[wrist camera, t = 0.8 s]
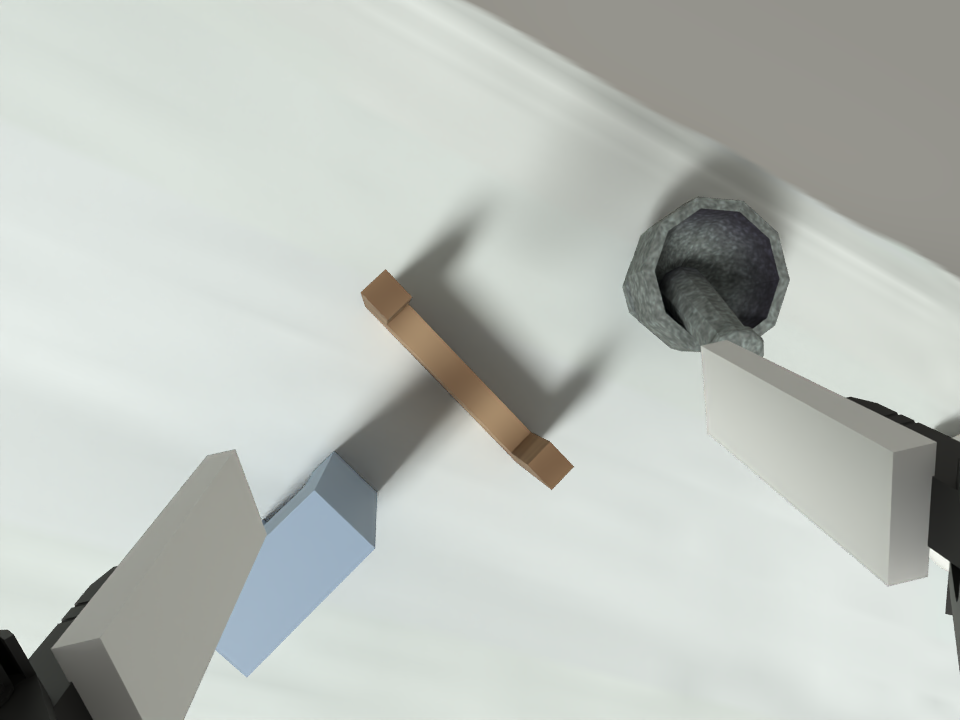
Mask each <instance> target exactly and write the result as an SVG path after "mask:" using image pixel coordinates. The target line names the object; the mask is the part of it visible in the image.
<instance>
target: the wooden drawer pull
mask: <svg viewBox="0 0 960 720" xmlns="http://www.w3.org/2000/svg"><path fill="white" fill-rule="evenodd" d="M361 295H362V298H363V301H364V304H365V307H366V308H367V309H368V310H369V311H370V312H371V313H372V314H373V315H374V316H375V317H376V318H377V319H378V320H379V321H380V322H381V323H382V324H383V325H384V326H385V327H386V328H387V329H388V331H389V332H390V333H391V334H392V335H393V336H394V337H395V338H396V339H397V340H398V341H399V342H400V343H401V344H402V345H403V346H404V347H405V348H406V349H407V350H408V351H409V352H410V353H411V354H412V355H413V356H414V357H415V358H416V359H417V360H418V361H419V362H420V363H421V365H422V366H423V367H424V368H425V369H426V370H427V371H428V372H429V373H430V374H431V375H432V376H433V377H434V378H435V379H436V380H437V381H438V382H439V383H440V384H441V385H442V386H443V387H444V388H445V389H446V390H447V391H448V392H449V393H450V394H451V395H452V396H453V397H454V399H455V400H456V401H457V402H458V403H459V404H460V405H461V406H462V407H463V408H464V409H465V410H466V411H467V412H468V413H469V414H470V415H471V416H472V417H473V418H474V419H475V420H476V421H477V422H478V423H479V424H480V425H481V426H482V427H483V428H484V429H485V430H486V431H487V433H488V434H489V435H490V436H491V437H492V438H493V439H494V440H495V441H496V442H497V443H498V444H499V445H500V446H501V447H502V448H503V449H504V450H505V451H506V452H507V453H508V454H509V455H510V456H511V457H512V458H513V459H514V460H515V461H516V462H517V463H518V464H519V465H520V466H522V467H523V468H524V469H525V470H527V471H528V472H529V473H531V474H532V475H533V476H534V477H536V478H537V479H538V480H540V481H541V482H542V483H544V484H545V485H546V486H547V487H549V488H550V489H551V490H552V489H553V488H554V487H555V486H556V485H557V484H558V483H559V482H560V481H561V480H562V479H563V478H564V477H565V475H566V474H567V473H568V472H569V471H570V470H571V469H572V468H573V467H574V466H573V465H572V464H571V463H570V462H569V461H568V460H567V459H566V458H565V457H564V456H563V455H562V454H561V453H560V452H559V451H558V449H557V448H556V447H555V446H554V445H553V444H552V443H551V442H550V441H548V440H546V439H544V438H542V437H540V436H538V435H536V434H534V433H532V432H530V431H529V430H528V429H527V428H526V426H525V425H524V424H523V423H522V422H521V421H520V420H519V419H518V418H517V417H516V416H515V415H514V414H513V413H512V412H511V411H510V410H509V409H508V408H507V407H506V406H505V405H504V403H503V402H502V401H501V400H500V399H499V398H498V397H497V396H496V395H495V394H494V393H493V392H492V391H491V390H490V389H489V388H488V387H487V386H486V385H485V384H484V383H483V381H482V380H481V379H480V378H479V377H478V376H477V375H476V374H475V373H474V372H473V371H472V370H471V369H470V368H469V367H468V366H467V365H466V364H465V363H464V362H463V361H462V360H461V358H460V357H459V356H458V355H457V354H456V353H455V352H454V351H453V350H452V349H451V348H450V347H449V346H448V345H447V344H446V343H445V342H444V341H443V340H442V339H441V338H440V337H439V335H438V334H437V333H436V332H435V331H434V330H433V329H432V328H431V327H430V326H429V325H428V324H427V323H426V322H425V321H424V320H423V319H422V318H421V317H420V316H419V315H418V314H417V312H416V311H415V310H414V309H413V308H412V307H411V306H410V305H409V302H410V300H411V298H412V296H411V295H410V294H409V293H408V292H407V291H406V290H405V289H404V288H403V287H402V286H401V285H400V284H399V283H398V282H397V281H396V280H395V278H394V277H393V276H392V275H391V274H390V273H389V272H388V271H387V270H386V269H385V270H384V271H383V272H382V273H381V274H380V275H379V276H378V277H377V278H376V279H375V280H374V281H373V282H371V283H370V284H369V285H368V286H367V287H366V288H365V289H364V290H363V291H362V292H361Z"/></svg>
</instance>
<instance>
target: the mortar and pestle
mask: <svg viewBox="0 0 960 720" xmlns="http://www.w3.org/2000/svg"><path fill="white" fill-rule="evenodd" d="M789 281H790V279H789V275H788V271H787V267H786V263H785V259H784V255H783V251H782V247H781V243H780V239H779V235H778V232H776V231H775V230H774V229H773V228H772V227H771V226H770V225H769V224H768V223H767V222H766V221H764V220H763V219H762V218H761V217H760V216H759V215H758V214H757V213H756V212H755V211H754V210H752V209H751V208H750V207H749V206H748V205H747V204H746V203H745V202H744V201H738V200H727V199H716V198H705V197H697V198H695V199H693V200H691V201H689V202H687V203H685V204H684V205H682V206H681V207H679V208H678V209H677V210H675V211H674V212H672V213H671V214H669V215H668V216H666V217H665V218H663V219H662V220H661V221H659V222H658V223H656V224H655V225H653V226H652V227H650V228H649V229H648V230H647V231H646V232H645V233H644V234H642V235H641V237H640V240H639V243H638V245H637V248H636V251H635V254H634V257H633V260H632V262H631V263H630V266H629V269H628V272H627V275H626V278H625V281H624V284H623V291H624V294H625V298H626V302H627V306H628V309H629V313H630V314H632V315H633V316H634V317H635V318H636V319H638V321H639V322H640V323H641V324H643V325H644V326H645V327H646V328H647V329H649V330H650V331H651V332H652V333H653V334H654V335H656V336H657V337H658V338H659V339H660V340H662V341H663V342H664V343H665V344H666V345H668V346H669V347H670V348H672V349H676V350H679V351H690V352H701V346H702V345H706V344H711V343H715V342H720V341H724V340H728V341H730V342H732V343H734V344H736V345H738V346H740V347H742V348H744V349H746V350H749V351H751V352H753V353H755V354H757V355H759V356H761V357H763V356H764V345H763V339H762V338H761V335H763V334H764V333H765V332H767V331H768V330H769V329H771V328H772V327H773V326H775V324H776V321H777V318H778V315H779V312H780V308H781V305H782V302H783V299H784V296H785V293H786V290H787V287H788V284H789Z"/></svg>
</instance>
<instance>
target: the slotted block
mask: <svg viewBox="0 0 960 720" xmlns="http://www.w3.org/2000/svg"><path fill="white" fill-rule="evenodd" d="M376 508H377V492H376V491H375V490H374V489H373V488H372V487H371V486H370V485H369V484H368V483H367V482H366V481H365V480H364V479H362V478H361V477H360V476H359V475H358V474H357V473H356V472H355V471H354V470H353V469H352V468H351V467H350V466H349V465H348V464H347V463H346V462H345V461H344V460H343V459H342V458H341V457H340V456H339V455H338V454H337V453H336V452H335V451H334V452H333V453H332V454H331V455H330V456H329V457H328V458H326V459H325V460H324V461H323V462H322V463H321V464H320V465H319V466H318V467H317V468H316V469H315V470H314V471H313V473H312V475H311V476H310V478H309V480H308V481H307V483H306V485H305V486H304V487H303V488H302V489H301V490H300V491H299V492H298V493H297V494H296V495H295V496H294V497H293V498H292V499H291V500H290V501H289V502H288V503H287V504H286V505H285V506H284V507H283V508H282V509H280V510H279V511H278V512H277V513H276V514H275V515H274V516H273V517H272V518H271V519H270V520H269V521H268V522H265V521H264V520H262V523H263V525H264V528H265V531H266V533H267V535H266V537H265V540H264V542H263V544H262V546H261V549H260V551H259V553H258V555H257V558H256V560H255V562H254V564H253V566H252V569H251V571H250V573H249V575H248V578H247V580H246V582H245V584H244V586H243V589H242V591H241V593H240V595H239V598H238V600H237V602H236V604H235V607H234V609H233V611H232V613H231V615H230V618H229V620H228V622H227V624H226V627H225V629H224V631H223V633H222V636H221V638H220V640H219V642H218V644H217V647H216V649H215V650H216V651H217V652H218V653H220V654H221V655H222V656H223V657H224V658H225V659H226V660H228V661H229V662H230V663H231V664H232V665H233V666H234V667H235V668H237V669H238V670H239V671H240V672H241V673H242V674H243V675H245V676H246V677H248V676H249V675H250V674H251V673H252V672H253V671H254V670H255V669H256V668H257V667H258V666H259V665H260V664H261V663H262V662H263V661H264V660H265V659H266V658H267V657H268V656H269V655H270V654H271V653H272V652H273V651H274V650H275V649H276V648H277V647H278V646H279V645H280V644H281V643H282V642H283V641H284V640H285V639H286V637H287V636H288V635H289V634H290V633H291V632H292V631H293V630H294V629H295V628H296V627H297V626H298V625H299V624H300V623H301V622H302V621H303V620H304V619H305V618H306V617H307V616H308V615H309V614H310V613H311V612H312V611H313V610H314V609H315V608H316V607H317V606H318V605H319V604H320V603H321V602H322V601H323V600H324V599H325V598H326V597H327V596H328V595H329V594H330V593H331V592H332V591H333V590H334V589H335V588H336V587H337V586H338V585H339V584H340V583H341V582H342V581H343V580H344V579H345V578H346V577H347V576H348V575H349V574H350V573H351V572H352V571H353V570H354V569H355V568H356V567H357V566H358V565H359V564H360V563H361V562H362V561H363V560H364V559H365V558H366V557H367V556H368V555H369V554H370V553H371V552H372V551H373V550H374V549H375V537H376Z"/></svg>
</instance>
